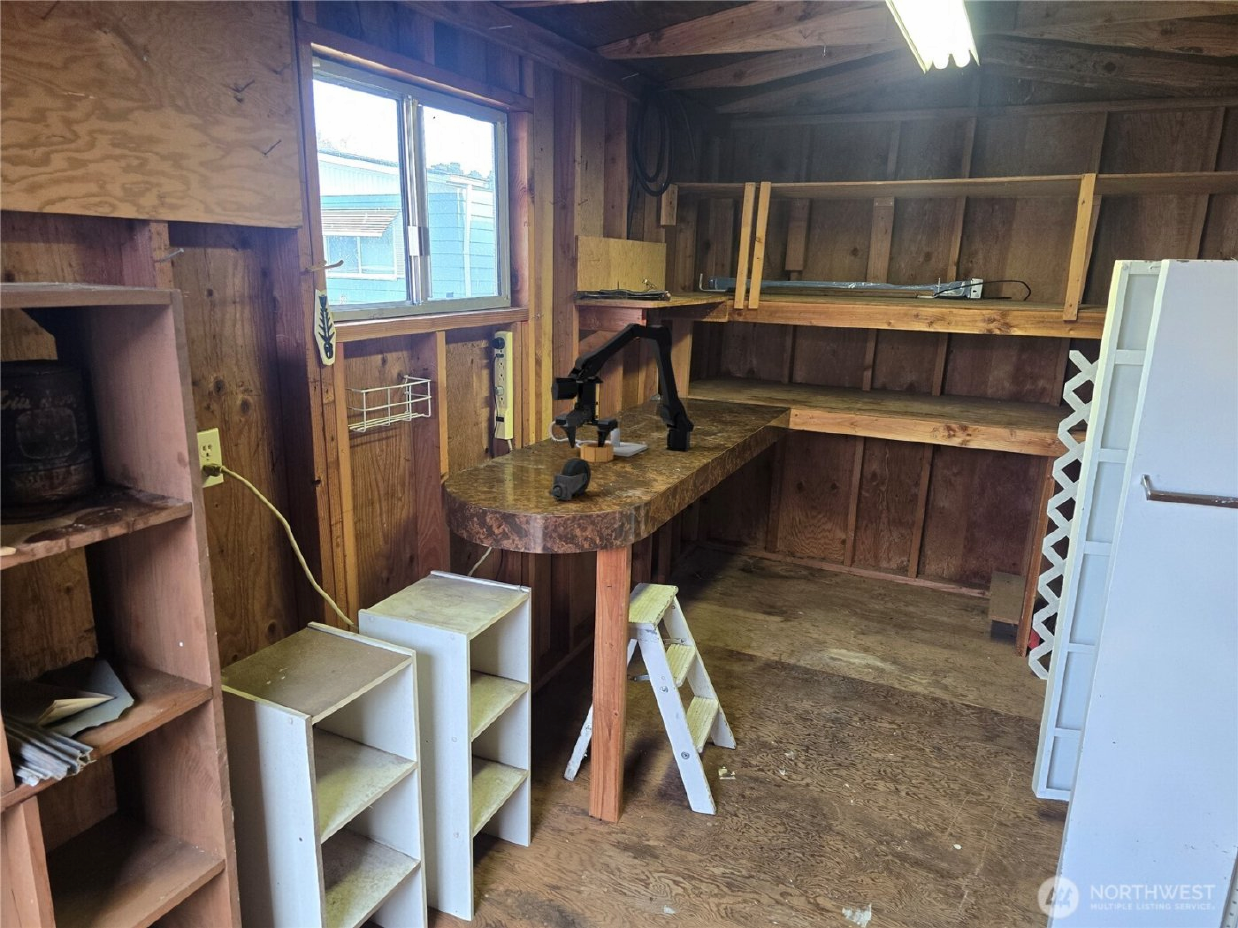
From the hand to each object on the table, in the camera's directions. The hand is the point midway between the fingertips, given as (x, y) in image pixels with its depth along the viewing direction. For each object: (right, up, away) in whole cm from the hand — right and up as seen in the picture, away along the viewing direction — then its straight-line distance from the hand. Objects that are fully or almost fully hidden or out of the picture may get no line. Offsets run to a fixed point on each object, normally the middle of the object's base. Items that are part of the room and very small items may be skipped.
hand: (586, 450), depth 233 cm
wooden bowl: (+3, -2, -1) cm, 4 cm away
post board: (+9, 0, +11) cm, 14 cm away
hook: (-5, +2, +20) cm, 21 cm away
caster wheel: (-2, -12, -42) cm, 44 cm away
